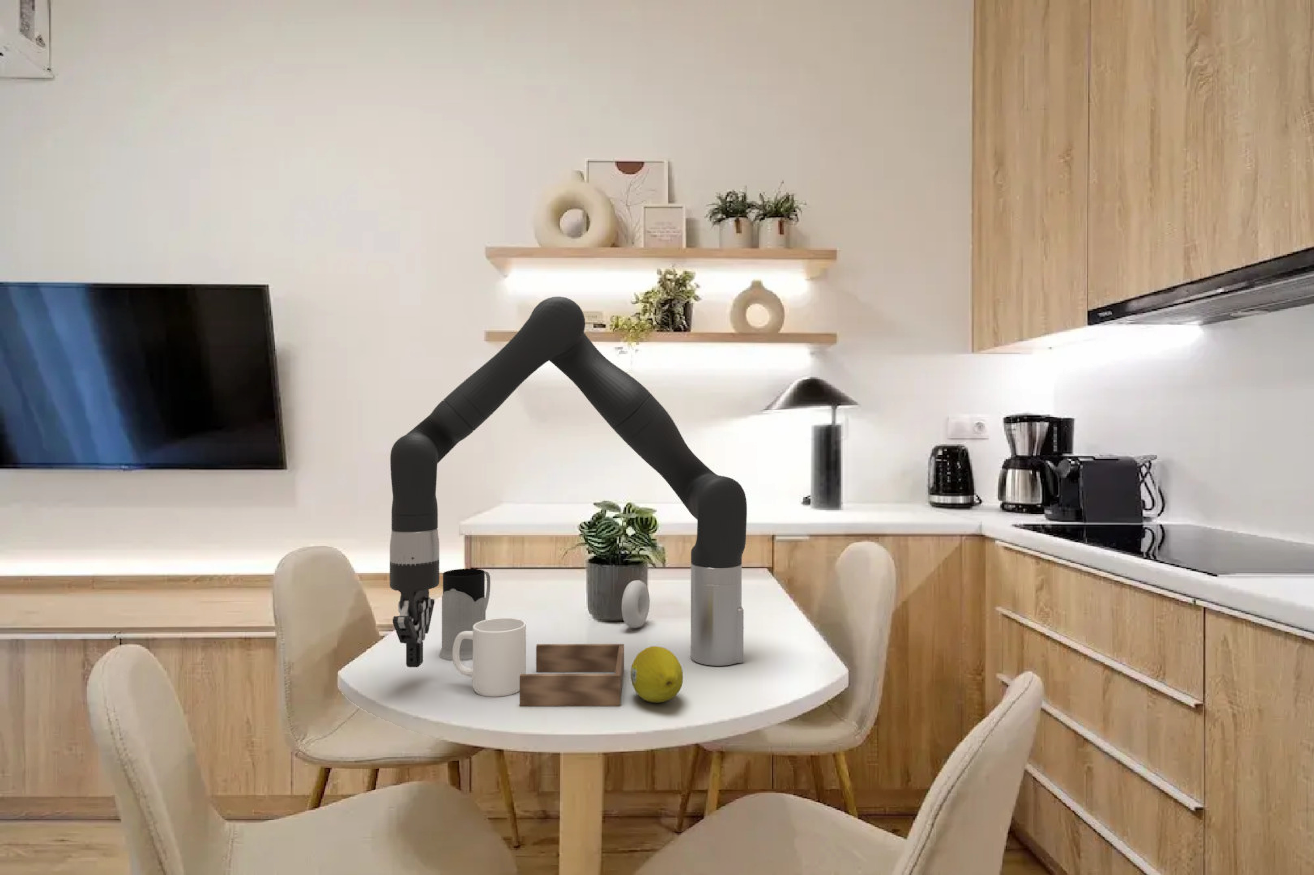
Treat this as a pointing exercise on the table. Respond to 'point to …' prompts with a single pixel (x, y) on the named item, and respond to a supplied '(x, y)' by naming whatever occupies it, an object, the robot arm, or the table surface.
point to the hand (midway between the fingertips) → (414, 665)
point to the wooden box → (574, 676)
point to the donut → (635, 604)
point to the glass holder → (462, 608)
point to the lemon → (656, 674)
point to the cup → (495, 656)
